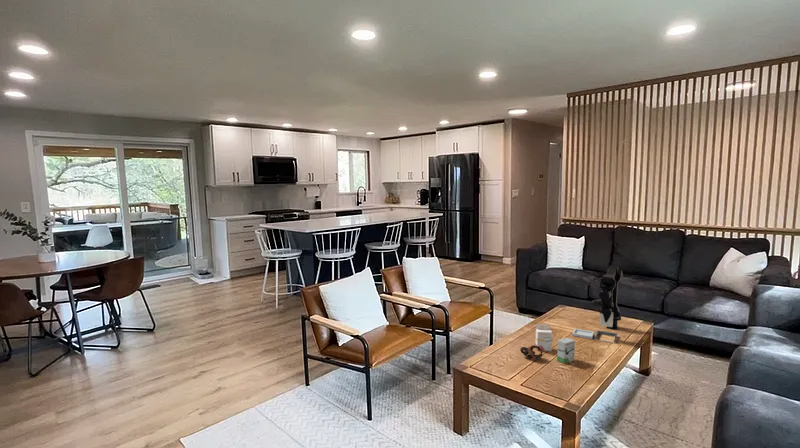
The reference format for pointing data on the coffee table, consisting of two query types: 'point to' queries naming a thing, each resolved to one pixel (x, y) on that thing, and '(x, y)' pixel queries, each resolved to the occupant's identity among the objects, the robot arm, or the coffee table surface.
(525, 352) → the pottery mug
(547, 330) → the ink cartridge box
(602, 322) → the cream box grey panel
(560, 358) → the ink box
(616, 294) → the robot arm
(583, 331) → the tray
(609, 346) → the coffee table surface
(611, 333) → the grey flat square frame
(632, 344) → the coffee table surface
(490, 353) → the coffee table surface
